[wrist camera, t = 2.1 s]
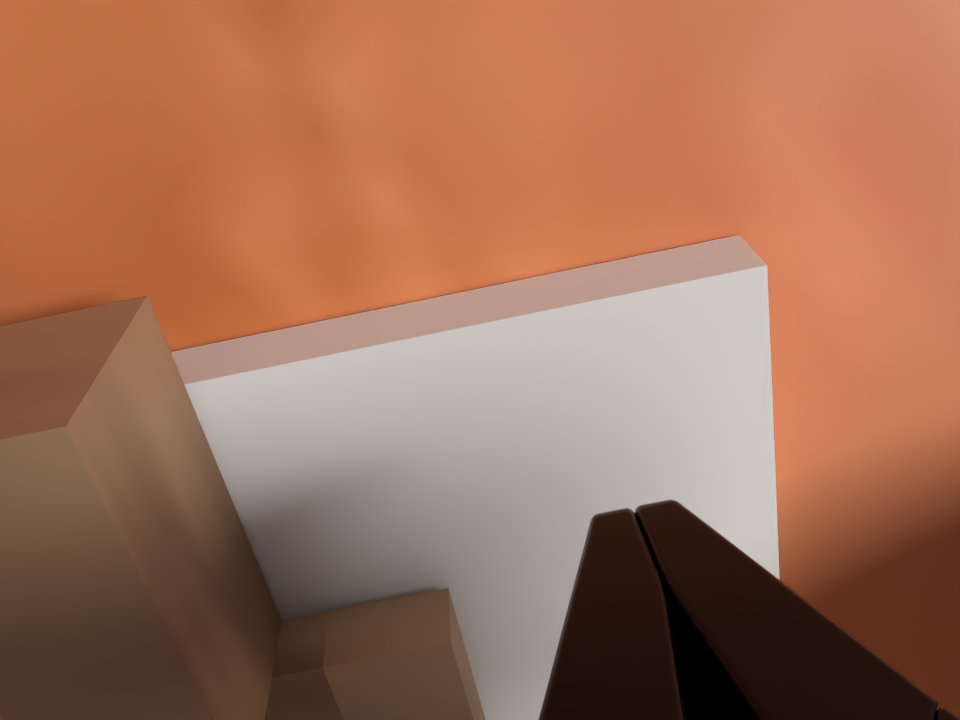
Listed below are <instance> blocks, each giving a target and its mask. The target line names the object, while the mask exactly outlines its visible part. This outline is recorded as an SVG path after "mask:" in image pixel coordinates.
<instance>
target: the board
mask: <svg viewBox="0 0 960 720" xmlns="http://www.w3.org/2000/svg"><path fill="white" fill-rule="evenodd" d="M171 354H172V356H173V359H174V361H175V363H176V366H177V368H178V371H179V373H180V375H181V378H182V380H183V383H184V385H185V388H186V390H187V392H188V395H189V397H190V400H191V402H192V405H193V407H194V409H195V412H196V414H197V417H198V419H199V421H200V424H201V426H202V429H203V431H204V434H205V436H206V438H207V441H208V443H209V446H210V448H211V450H212V453H213V455H214V458H215V460H216V463H217V465H218V467H219V470H220V472H221V475H222V477H223V480H224V482H225V484H226V487H227V489H228V492H229V494H230V496H231V499H232V501H233V504H234V506H235V509H236V511H237V513H238V516H239V518H240V521H241V523H242V525H243V528H244V530H245V533H246V535H247V538H248V540H249V542H250V545H251V547H252V550H253V552H254V555H255V557H256V559H257V562H258V564H259V567H260V569H261V571H262V574H263V576H264V579H265V581H266V584H267V586H268V588H269V591H270V593H271V596H272V598H273V600H274V603H275V605H276V608H277V610H278V613H279V615H280V617H281V620H286V619H292V618H297V617H302V616H307V615H312V614H317V613H322V612H327V611H332V610H338V609H343V608H348V607H353V606H358V605H363V604H368V603H373V602H379V601H384V600H389V599H394V598H399V597H404V596H409V595H414V594H419V593H425V592H430V591H435V590H440V589H445V588H448V589H449V592H450V596H451V599H452V603H453V606H454V610H455V613H456V617H457V620H458V624H459V628H460V631H461V635H462V638H463V642H464V645H465V649H466V652H467V656H468V659H469V663H470V667H471V670H472V674H473V677H474V681H475V684H476V688H477V691H478V695H479V698H480V702H481V706H482V709H483V713H484V716H485V720H539V716H540V712H541V709H542V705H543V701H544V697H545V693H546V689H547V686H548V682H549V678H550V674H551V670H552V666H553V663H554V659H555V655H556V651H557V647H558V643H559V640H560V636H561V632H562V628H563V624H564V621H565V617H566V613H567V609H568V605H569V601H570V598H571V594H572V590H573V586H574V582H575V578H576V575H577V571H578V567H579V563H580V559H581V555H582V552H583V548H584V544H585V540H586V536H587V533H588V529H589V525H590V521H591V519H592V517H593V516H594V515H595V514H598V513H603V512H608V511H613V510H618V509H623V508H629V509H631V510H632V511H633V512H634V513H635V510H636V508H637V507H638V506H640V505H643V504H649V503H654V502H659V501H664V500H675V501H678V502H679V503H680V504H682V505H683V506H684V507H686V508H687V509H688V510H690V511H691V512H692V513H693V514H695V515H696V516H697V517H699V518H700V519H701V520H702V521H704V522H705V523H706V524H708V525H709V526H710V527H712V528H713V529H714V530H715V531H717V532H718V533H719V534H721V535H722V536H723V537H725V538H726V539H727V540H728V541H730V542H731V543H732V544H734V545H735V546H736V547H738V548H739V549H740V550H741V551H743V552H744V553H745V554H747V555H748V556H749V557H751V558H752V559H753V560H754V561H756V562H757V563H758V564H760V565H761V566H762V567H763V568H765V569H766V570H767V571H769V572H770V573H771V574H773V575H774V576H775V577H776V578H778V579H779V580H780V577H779V552H778V527H777V502H776V477H775V452H774V427H773V402H772V377H771V353H770V328H769V303H768V278H767V265H766V264H765V262H764V261H763V260H762V259H761V258H760V257H759V256H758V255H757V254H756V253H755V251H754V250H753V249H752V248H751V247H750V246H749V245H748V244H747V243H746V242H745V240H744V239H743V238H742V237H741V236H740V235H735V236H731V237H726V238H721V239H716V240H711V241H706V242H702V243H697V244H692V245H687V246H682V247H677V248H672V249H668V250H663V251H658V252H653V253H648V254H643V255H639V256H634V257H629V258H624V259H619V260H614V261H609V262H605V263H600V264H595V265H590V266H585V267H580V268H575V269H571V270H566V271H561V272H556V273H551V274H546V275H542V276H537V277H532V278H527V279H522V280H517V281H512V282H508V283H503V284H498V285H493V286H488V287H483V288H479V289H474V290H469V291H464V292H459V293H454V294H449V295H445V296H440V297H435V298H430V299H425V300H420V301H415V302H411V303H406V304H401V305H396V306H391V307H386V308H382V309H377V310H372V311H367V312H362V313H357V314H352V315H348V316H343V317H338V318H333V319H328V320H323V321H319V322H314V323H309V324H304V325H299V326H294V327H289V328H285V329H280V330H275V331H270V332H265V333H260V334H256V335H251V336H246V337H241V338H236V339H231V340H226V341H222V342H217V343H212V344H207V345H202V346H197V347H192V348H188V349H183V350H178V351H173V352H171Z"/></svg>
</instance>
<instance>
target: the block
mask: <svg viewBox="0 0 960 720" xmlns="http://www.w3.org/2000/svg"><path fill="white" fill-rule="evenodd" d="M0 720H485V716H484V713H483V709H482V706H481V702H480V698H479V695H478V691H477V688H476V684H475V681H474V677H473V674H472V670H471V667H470V663H469V659H468V656H467V652H466V649H465V645H464V642H463V638H462V635H461V631H460V628H459V624H458V620H457V617H456V613H455V610H454V606H453V603H452V599H451V596H450V592H449V589H448V588H445V589H440V590H435V591H430V592H425V593H419V594H414V595H409V596H404V597H399V598H394V599H389V600H384V601H379V602H373V603H368V604H363V605H358V606H353V607H348V608H343V609H338V610H332V611H327V612H322V613H317V614H312V615H307V616H302V617H297V618H292V619H286V620H281V617H280V615H279V613H278V610H277V608H276V605H275V603H274V600H273V598H272V596H271V593H270V591H269V588H268V586H267V584H266V581H265V579H264V576H263V574H262V571H261V569H260V567H259V564H258V562H257V559H256V557H255V555H254V552H253V550H252V547H251V545H250V542H249V540H248V538H247V535H246V533H245V530H244V528H243V525H242V523H241V521H240V518H239V516H238V513H237V511H236V509H235V506H234V504H233V501H232V499H231V496H230V494H229V492H228V489H227V487H226V484H225V482H224V480H223V477H222V475H221V472H220V470H219V467H218V465H217V463H216V460H215V458H214V455H213V453H212V450H211V448H210V446H209V443H208V441H207V438H206V436H205V434H204V431H203V429H202V426H201V424H200V421H199V419H198V417H197V414H196V412H195V409H194V407H193V405H192V402H191V400H190V397H189V395H188V392H187V390H186V388H185V385H184V383H183V380H182V378H181V375H180V373H179V371H178V368H177V366H176V363H175V361H174V359H173V356H172V354H171V351H170V349H169V346H168V344H167V342H166V339H165V337H164V334H163V332H162V330H161V327H160V325H159V322H158V320H157V317H156V315H155V313H154V310H153V308H152V305H151V303H150V301H149V298H148V296H142V297H137V298H132V299H128V300H123V301H118V302H113V303H109V304H104V305H99V306H94V307H89V308H85V309H80V310H75V311H70V312H65V313H61V314H56V315H51V316H46V317H41V318H37V319H32V320H27V321H22V322H17V323H13V324H8V325H3V326H0Z"/></svg>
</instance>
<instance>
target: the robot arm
mask: <svg viewBox="0 0 960 720" xmlns="http://www.w3.org/2000/svg"><path fill="white" fill-rule="evenodd" d="M539 720H960V718H959V717H957V716H956V715H955V714H953V713H952V712H951V711H950V710H948V709H947V708H944V707H943V708H940V709H939V710H938V703H937V701H936V700H935V699H933V698H932V697H931V696H930V695H928V694H927V693H926V692H924V691H923V690H922V689H920V688H919V687H918V686H917V685H915V684H914V683H913V682H911V681H910V680H909V679H908V678H906V677H905V676H904V675H902V674H901V673H900V672H898V671H897V670H896V669H895V668H893V667H892V666H891V665H889V664H888V663H887V662H885V661H884V660H883V659H882V658H880V657H879V656H878V655H876V654H875V653H874V652H872V651H871V650H870V649H869V648H867V647H866V646H865V645H863V644H862V643H861V642H859V641H858V640H857V639H856V638H854V637H853V636H852V635H850V634H849V633H848V632H847V631H845V630H844V629H843V628H841V627H840V626H839V625H837V624H836V623H835V622H834V621H832V620H831V619H830V618H828V617H827V616H826V615H824V614H823V613H822V612H821V611H819V610H818V609H817V608H815V607H814V606H813V605H811V604H810V603H809V602H808V601H806V600H805V599H804V598H802V597H801V596H800V595H799V594H797V593H796V592H795V591H793V590H792V589H791V588H789V587H788V586H787V585H786V584H784V583H783V582H782V581H780V580H779V579H778V578H776V577H775V576H774V575H773V574H771V573H770V572H769V571H767V570H766V569H765V568H763V567H762V566H761V565H760V564H758V563H757V562H756V561H754V560H753V559H752V558H751V557H749V556H748V555H747V554H745V553H744V552H743V551H741V550H740V549H739V548H738V547H736V546H735V545H734V544H732V543H731V542H730V541H728V540H727V539H726V538H725V537H723V536H722V535H721V534H719V533H718V532H717V531H715V530H714V529H713V528H712V527H710V526H709V525H708V524H706V523H705V522H704V521H702V520H701V519H700V518H699V517H697V516H696V515H695V514H693V513H692V512H691V511H690V510H688V509H687V508H686V507H684V506H683V505H682V504H680V503H679V502H678V501H675V500H664V501H659V502H654V503H649V504H643V505H640V506H638V507H637V508H636V510H635V513H634V512H633V511H632V510H631V509H629V508H623V509H618V510H613V511H608V512H603V513H598V514H595V515H594V516H593V517H592V519H591V521H590V525H589V529H588V533H587V536H586V540H585V544H584V548H583V552H582V555H581V559H580V563H579V567H578V571H577V575H576V578H575V582H574V586H573V590H572V594H571V598H570V601H569V605H568V609H567V613H566V617H565V621H564V624H563V628H562V632H561V636H560V640H559V643H558V647H557V651H556V655H555V659H554V663H553V666H552V670H551V674H550V678H549V682H548V686H547V689H546V693H545V697H544V701H543V705H542V709H541V712H540V716H539Z"/></svg>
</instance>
